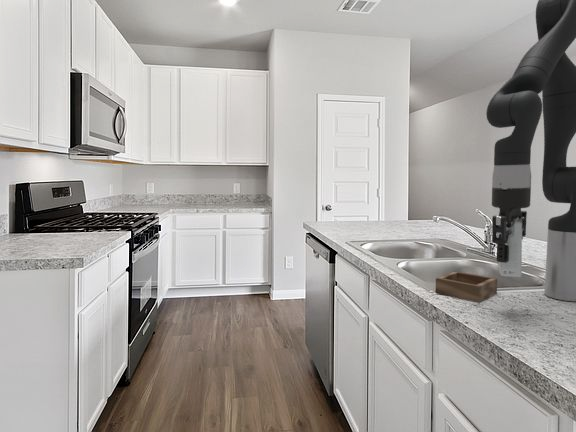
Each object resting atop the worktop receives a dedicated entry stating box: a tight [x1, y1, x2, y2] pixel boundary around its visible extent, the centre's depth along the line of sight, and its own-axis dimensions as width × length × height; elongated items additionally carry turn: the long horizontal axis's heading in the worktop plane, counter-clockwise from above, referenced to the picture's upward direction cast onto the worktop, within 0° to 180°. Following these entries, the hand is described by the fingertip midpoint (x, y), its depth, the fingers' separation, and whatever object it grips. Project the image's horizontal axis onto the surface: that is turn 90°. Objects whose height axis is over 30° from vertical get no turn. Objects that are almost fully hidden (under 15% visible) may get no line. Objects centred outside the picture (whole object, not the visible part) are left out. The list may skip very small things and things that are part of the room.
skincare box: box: [497, 221, 523, 278], centre depth 90 cm, size 6×4×12 cm
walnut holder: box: [434, 270, 498, 303], centre depth 107 cm, size 11×11×4 cm
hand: (508, 258), depth 90 cm, fingers closed on skincare box, 7 cm apart
